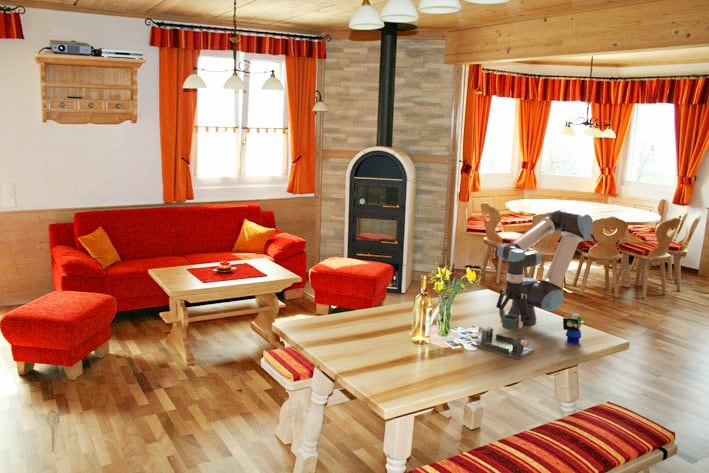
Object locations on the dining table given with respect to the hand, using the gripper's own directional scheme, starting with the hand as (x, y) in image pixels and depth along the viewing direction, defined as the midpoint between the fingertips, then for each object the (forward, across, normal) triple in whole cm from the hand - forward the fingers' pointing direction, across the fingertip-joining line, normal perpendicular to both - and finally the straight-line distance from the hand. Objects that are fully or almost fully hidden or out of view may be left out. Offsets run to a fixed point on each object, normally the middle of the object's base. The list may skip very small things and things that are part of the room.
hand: (511, 324), depth 308 cm
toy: (+7, +25, +16) cm, 30 cm away
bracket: (+1, 0, 0) cm, 1 cm away
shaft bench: (+6, +5, -17) cm, 18 cm away
